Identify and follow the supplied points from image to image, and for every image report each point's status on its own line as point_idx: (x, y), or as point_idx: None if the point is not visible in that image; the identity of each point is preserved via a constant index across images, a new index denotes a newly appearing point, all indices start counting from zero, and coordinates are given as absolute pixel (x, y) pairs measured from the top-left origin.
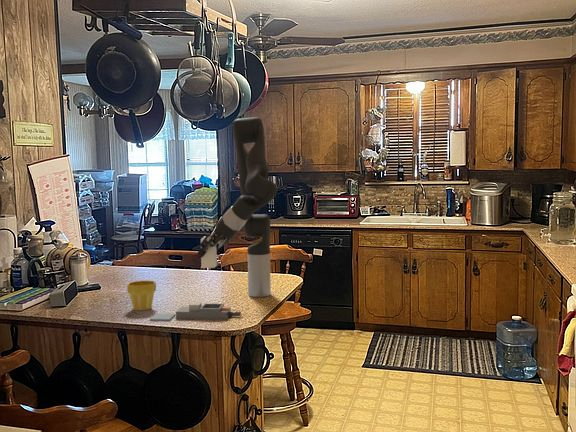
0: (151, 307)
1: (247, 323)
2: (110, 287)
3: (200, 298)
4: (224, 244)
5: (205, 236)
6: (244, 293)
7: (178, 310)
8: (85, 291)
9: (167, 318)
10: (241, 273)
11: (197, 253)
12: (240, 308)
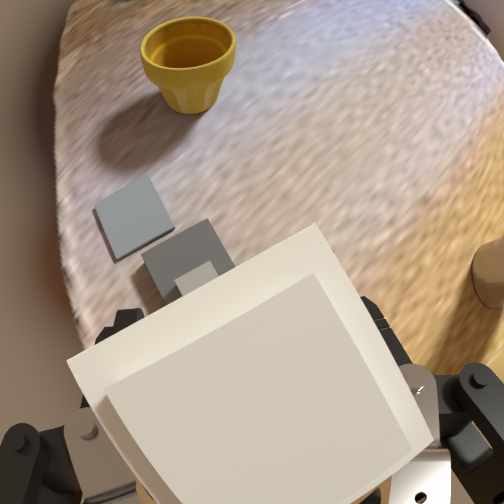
0: (206, 109)
1: None
2: None
3: (376, 151)
4: (447, 438)
5: (259, 342)
6: (480, 227)
7: (157, 249)
8: None
9: (119, 247)
10: None
11: (119, 313)
12: None
